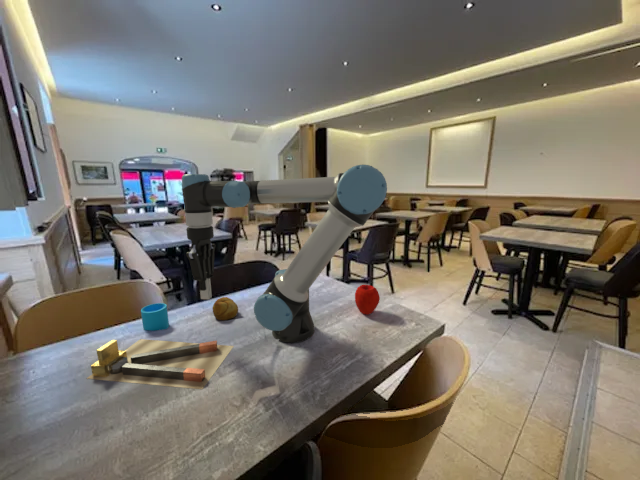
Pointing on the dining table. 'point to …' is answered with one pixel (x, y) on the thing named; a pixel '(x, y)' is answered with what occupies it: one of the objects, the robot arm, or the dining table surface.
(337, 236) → the robot arm
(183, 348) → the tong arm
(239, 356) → the dining table surface
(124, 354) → the yellow stepped block
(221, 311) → the bread roll
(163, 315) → the mug
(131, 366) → the tong fixed
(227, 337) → the dining table surface
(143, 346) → the board
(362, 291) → the apple
